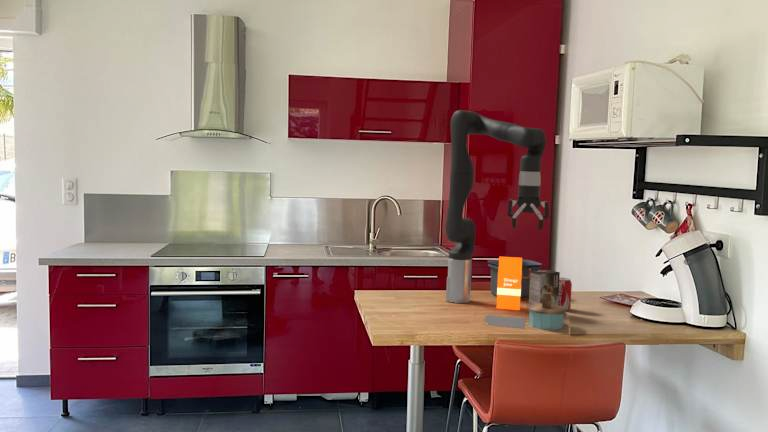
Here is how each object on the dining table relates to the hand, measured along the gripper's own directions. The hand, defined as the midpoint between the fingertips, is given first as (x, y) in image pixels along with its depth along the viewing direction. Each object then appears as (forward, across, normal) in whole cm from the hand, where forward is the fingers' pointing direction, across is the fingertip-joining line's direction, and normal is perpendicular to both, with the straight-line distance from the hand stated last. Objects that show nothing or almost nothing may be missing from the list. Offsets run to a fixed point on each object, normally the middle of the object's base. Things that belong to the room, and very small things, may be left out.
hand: (527, 229), depth 229 cm
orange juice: (+32, -6, +12) cm, 35 cm away
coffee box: (+32, +7, +8) cm, 34 cm away
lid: (+26, +8, -11) cm, 29 cm away
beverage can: (+32, +14, +18) cm, 40 cm away
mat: (+32, -6, -11) cm, 34 cm away
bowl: (+32, +8, -11) cm, 35 cm away
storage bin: (+32, -5, +36) cm, 49 cm away
